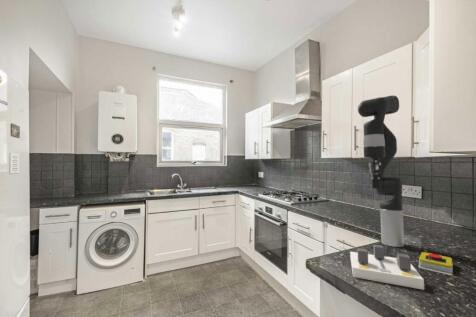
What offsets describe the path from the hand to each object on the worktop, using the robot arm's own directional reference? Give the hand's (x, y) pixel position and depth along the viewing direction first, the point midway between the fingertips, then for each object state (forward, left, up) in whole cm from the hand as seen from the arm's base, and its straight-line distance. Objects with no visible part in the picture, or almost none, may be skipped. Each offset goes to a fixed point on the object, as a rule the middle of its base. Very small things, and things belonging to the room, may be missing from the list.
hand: (375, 188), depth 89 cm
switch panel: (+11, -1, -29) cm, 31 cm away
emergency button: (-5, +19, -30) cm, 36 cm away
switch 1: (+14, -7, -26) cm, 30 cm away
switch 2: (+6, -1, -26) cm, 26 cm away
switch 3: (+14, +5, -26) cm, 29 cm away
